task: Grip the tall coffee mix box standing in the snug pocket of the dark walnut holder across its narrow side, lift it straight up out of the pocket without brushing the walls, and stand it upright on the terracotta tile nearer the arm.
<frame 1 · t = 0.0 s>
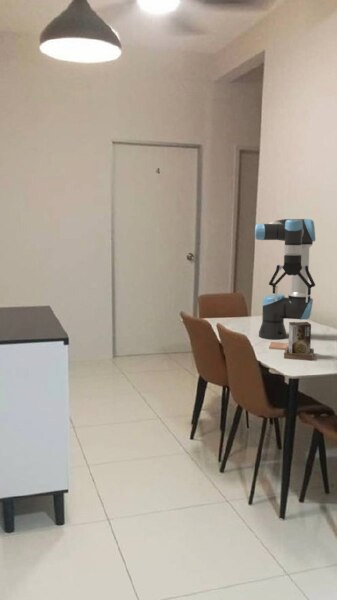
hand: (291, 301, 234), 28 cm above the table, tool pointing down, fingers open, 13 cm apart
terracotta tile: (281, 346, 265), on the table
walnut holder: (299, 355, 248), on the table
coffee box: (298, 356, 248), resting in walnut holder
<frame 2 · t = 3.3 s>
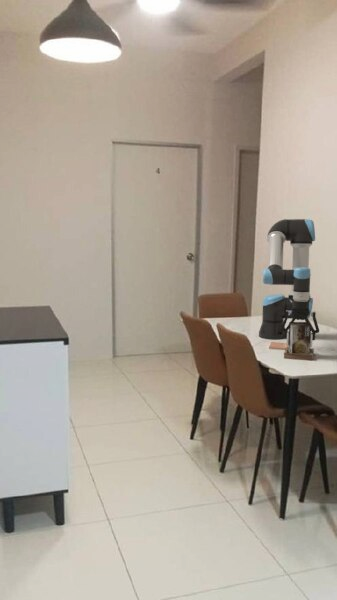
hand: (299, 346, 247), 5 cm above the table, tool pointing down, fingers closed on coffee box, 10 cm apart
coffee box: (298, 356, 248), resting in walnut holder, touching gripper
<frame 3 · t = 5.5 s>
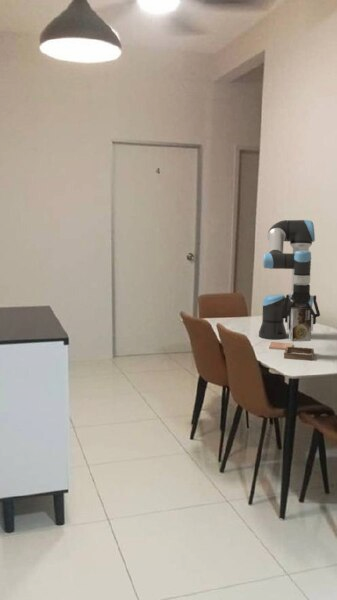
hand: (299, 330, 246), 13 cm above the table, tool pointing down, fingers closed on coffee box, 10 cm apart
coffee box: (299, 340, 247), point 8 cm above the table, touching gripper
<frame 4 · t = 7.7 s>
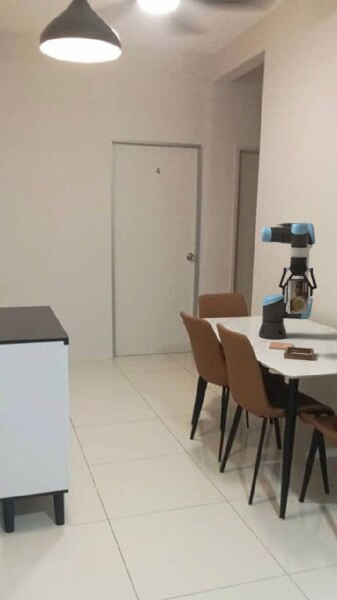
hand: (297, 302, 248), 25 cm above the table, tool pointing down, fingers closed on coffee box, 10 cm apart
coffee box: (296, 312, 249), point 20 cm above the table, touching gripper
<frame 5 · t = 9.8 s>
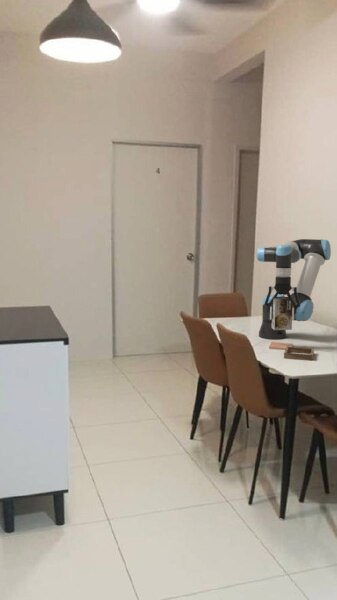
hand: (281, 319, 263), 14 cm above the table, tool pointing down, fingers closed on coffee box, 10 cm apart
coffee box: (281, 329, 263), point 9 cm above the table, touching gripper
when the fingers open (7 cm above the table, at t = 12.0 s): coffee box drops 1 cm, resting on terracotta tile.
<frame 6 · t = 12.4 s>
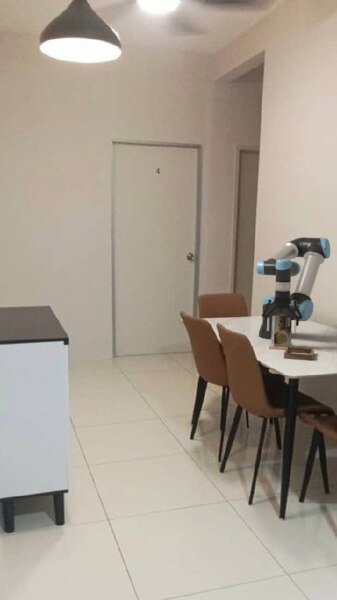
hand: (281, 331, 264), 8 cm above the table, tool pointing down, fingers open, 13 cm apart
coffee box: (280, 345, 265), point 1 cm above the table, touching terracotta tile
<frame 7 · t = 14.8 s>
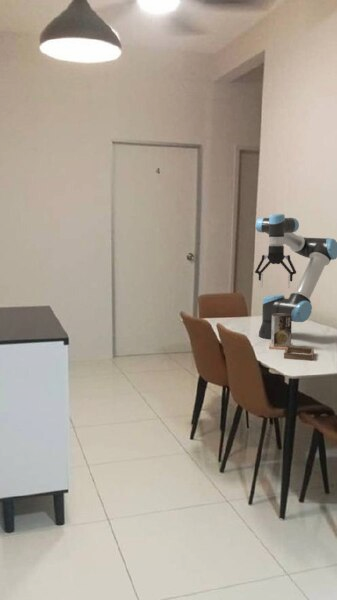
hand: (275, 287, 262), 31 cm above the table, tool pointing down, fingers open, 13 cm apart
nothing on the table moved.
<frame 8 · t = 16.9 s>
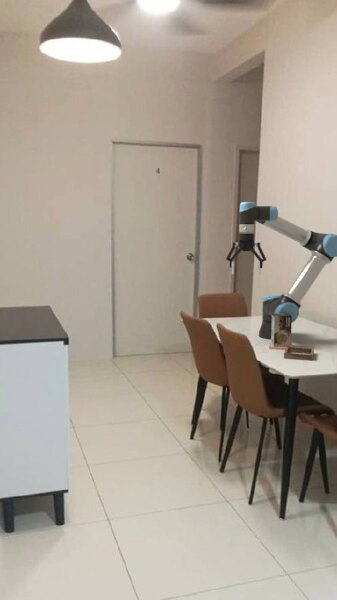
hand: (245, 274, 266), 37 cm above the table, tool pointing down, fingers open, 13 cm apart
nothing on the table moved.
at the end: coffee box inside the target area on the terracotta tile (0.1 cm from its centre), point 0.8 cm above the terracotta tile's base; coffee box tilted 0°; the gripper is holding nothing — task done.
